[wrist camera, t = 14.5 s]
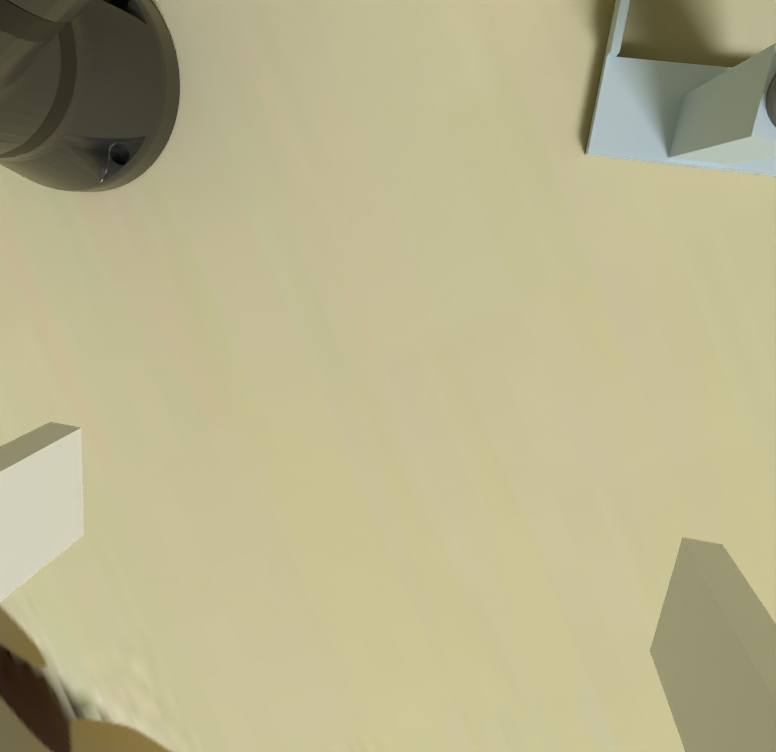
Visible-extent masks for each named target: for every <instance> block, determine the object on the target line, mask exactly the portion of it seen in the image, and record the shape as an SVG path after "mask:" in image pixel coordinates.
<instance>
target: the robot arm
mask: <svg viewBox="0 0 776 752" xmlns="http://www.w3.org/2000/svg"><path fill="white" fill-rule="evenodd" d="M179 94H180V80H179V69H178V62H177V57H176V53H175V49H174V45H173V42H172V39H171V36H170V34H169V32H168V29H167V27H166V25H165V23H164V21H163V19H162V17H161V15H160V13H159V12H158V10H157V9H156V7H155V6H154V4H153V3H152V1H151V0H0V164H1V165H3V166H5V167H6V168H8V169H10V170H12V171H14V172H16V173H18V174H20V175H22V176H23V177H25V178H27V179H29V180H31V181H33V182H36V183H38V184H41V185H43V186H47V187H50V188H54V189H58V190H64V191H79V192H99V191H106V190H111V189H115V188H118V187H120V186H123V185H125V184H127V183H129V182H131V181H133V180H134V179H136V178H137V177H139V176H140V175H141V174H143V173H144V172H145V171H146V170H147V169H148V168H149V167H150V166H151V165H152V164H153V163H154V162H155V161H156V159H157V158H158V157H159V155H160V154H161V152H162V151H163V149H164V148H165V146H166V144H167V142H168V140H169V138H170V135H171V133H172V130H173V127H174V124H175V120H176V116H177V111H178V105H179ZM83 535H84V524H83V482H82V441H81V428H80V427H75V426H69V425H64V424H58V423H53V422H49V423H47V424H45V425H43V426H41V427H39V428H37V429H35V430H33V431H31V432H29V433H27V434H25V435H23V436H21V437H19V438H17V439H15V440H13V441H11V442H9V443H7V444H5V445H3V446H1V447H0V602H1V601H2V600H4V599H5V598H6V597H7V596H9V595H10V594H11V593H12V592H14V591H15V590H16V589H17V588H19V587H20V586H21V585H22V584H23V583H25V582H26V581H27V580H28V579H30V578H31V577H32V576H33V575H35V574H36V573H37V572H38V571H40V570H41V569H42V568H43V567H44V566H46V565H47V564H48V563H49V562H51V561H52V560H53V559H54V558H56V557H57V556H58V555H59V554H61V553H62V552H63V551H64V550H65V549H67V548H68V547H69V546H70V545H72V544H73V543H74V542H75V541H77V540H78V539H79V538H80V537H82V536H83ZM650 652H651V655H652V658H653V661H654V664H655V667H656V669H657V672H658V675H659V678H660V681H661V684H662V687H663V689H664V692H665V695H666V698H667V701H668V704H669V706H670V709H671V712H672V715H673V718H674V721H675V724H676V726H677V729H678V732H679V735H680V738H681V741H682V744H683V746H684V749H685V752H776V624H775V622H774V621H773V619H772V618H771V616H770V615H769V613H768V612H767V610H766V609H765V607H764V606H763V604H762V603H761V601H760V600H759V598H758V597H757V595H756V594H755V592H754V591H753V589H752V588H751V586H750V585H749V583H748V582H747V580H746V579H745V577H744V576H743V574H742V573H741V571H740V570H739V569H738V567H737V566H736V564H735V563H734V561H733V560H732V558H731V557H730V555H729V554H728V552H727V551H726V549H725V548H724V546H723V545H722V544H716V543H711V542H705V541H700V540H694V539H689V538H682V541H681V545H680V548H679V552H678V555H677V559H676V562H675V566H674V569H673V572H672V576H671V579H670V583H669V586H668V590H667V593H666V597H665V600H664V604H663V607H662V611H661V614H660V618H659V621H658V625H657V628H656V632H655V635H654V639H653V642H652V646H651V649H650Z"/></svg>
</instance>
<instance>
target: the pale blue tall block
mask: <svg viewBox="0 0 776 752" xmlns="http://www.w3.org/2000/svg"><path fill="white" fill-rule="evenodd" d="M629 4H630V0H616V1H615V6H614V11H613V16H612V21H611V26H610V31H609V36H608V41H607V46H606V51H605V56H604V61H603V67H602V72H601V77H600V82H599V87H598V92H597V97H596V102H595V107H594V112H593V117H592V122H591V127H590V132H589V137H588V143H587V148H586V153H585V155H591V156H600V157H609V158H618V159H627V160H636V161H645V162H654V163H663V164H671V165H680V166H689V167H698V168H707V169H716V170H725V171H734V172H743V173H752V174H761V175H769V176H776V43H775V44H773V45H772V46H770V47H768V48H766V49H765V50H763V51H761V52H759V53H757V54H756V55H754V56H752V57H750V58H749V59H747V60H745V61H743V62H742V63H740V64H738V65H736V66H735V67H733V68H732V67H721V66H711V65H700V64H689V63H678V62H668V61H657V60H646V59H635V58H625V57H616V56H617V55H618V53H619V52H620V48H621V43H622V38H623V33H624V28H625V23H626V18H627V14H628V9H629Z"/></svg>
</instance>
